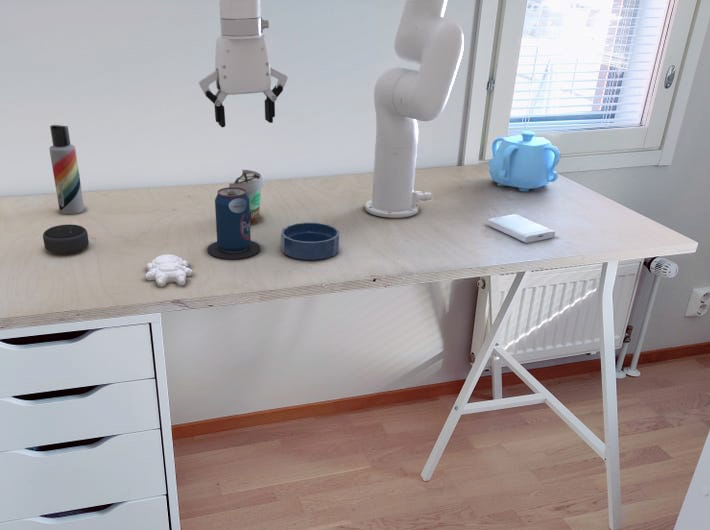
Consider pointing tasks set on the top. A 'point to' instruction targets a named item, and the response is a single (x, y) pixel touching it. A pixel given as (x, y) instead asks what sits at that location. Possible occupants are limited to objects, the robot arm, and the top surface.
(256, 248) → the coaster
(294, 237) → the bowl
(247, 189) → the food container
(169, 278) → the astronaut figurine
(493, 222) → the hard drive
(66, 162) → the lotion bottle
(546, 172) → the decorative pot
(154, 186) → the top surface
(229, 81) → the robot arm
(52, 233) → the smart speaker
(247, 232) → the soda can
